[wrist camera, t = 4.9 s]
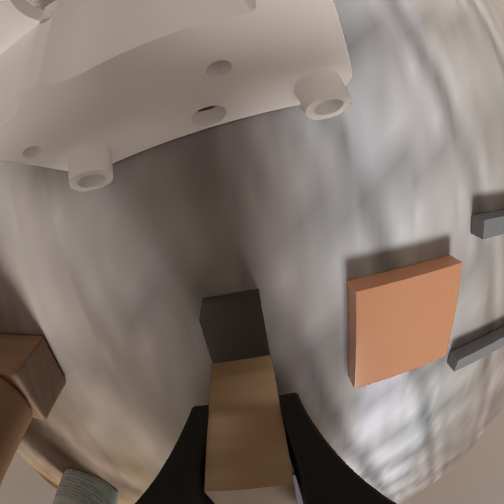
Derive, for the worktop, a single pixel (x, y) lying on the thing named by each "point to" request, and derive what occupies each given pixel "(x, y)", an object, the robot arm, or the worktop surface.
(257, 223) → the worktop surface
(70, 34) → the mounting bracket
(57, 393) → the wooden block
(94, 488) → the spray paint can
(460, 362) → the frame
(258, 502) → the two-tone stacked blocks
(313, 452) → the robot arm
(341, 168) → the worktop surface
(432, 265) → the tile
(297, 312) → the worktop surface
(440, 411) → the worktop surface
